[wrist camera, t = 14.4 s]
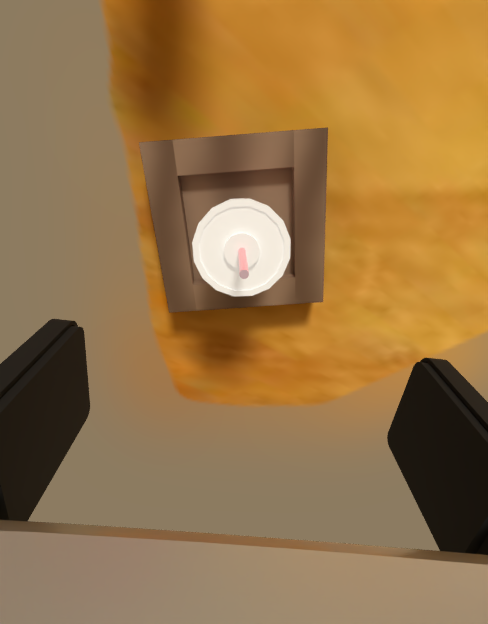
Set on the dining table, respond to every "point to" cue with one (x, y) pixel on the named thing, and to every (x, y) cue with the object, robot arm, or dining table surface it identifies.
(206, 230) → the beverage cup
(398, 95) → the dining table surface
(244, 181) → the walnut tray
